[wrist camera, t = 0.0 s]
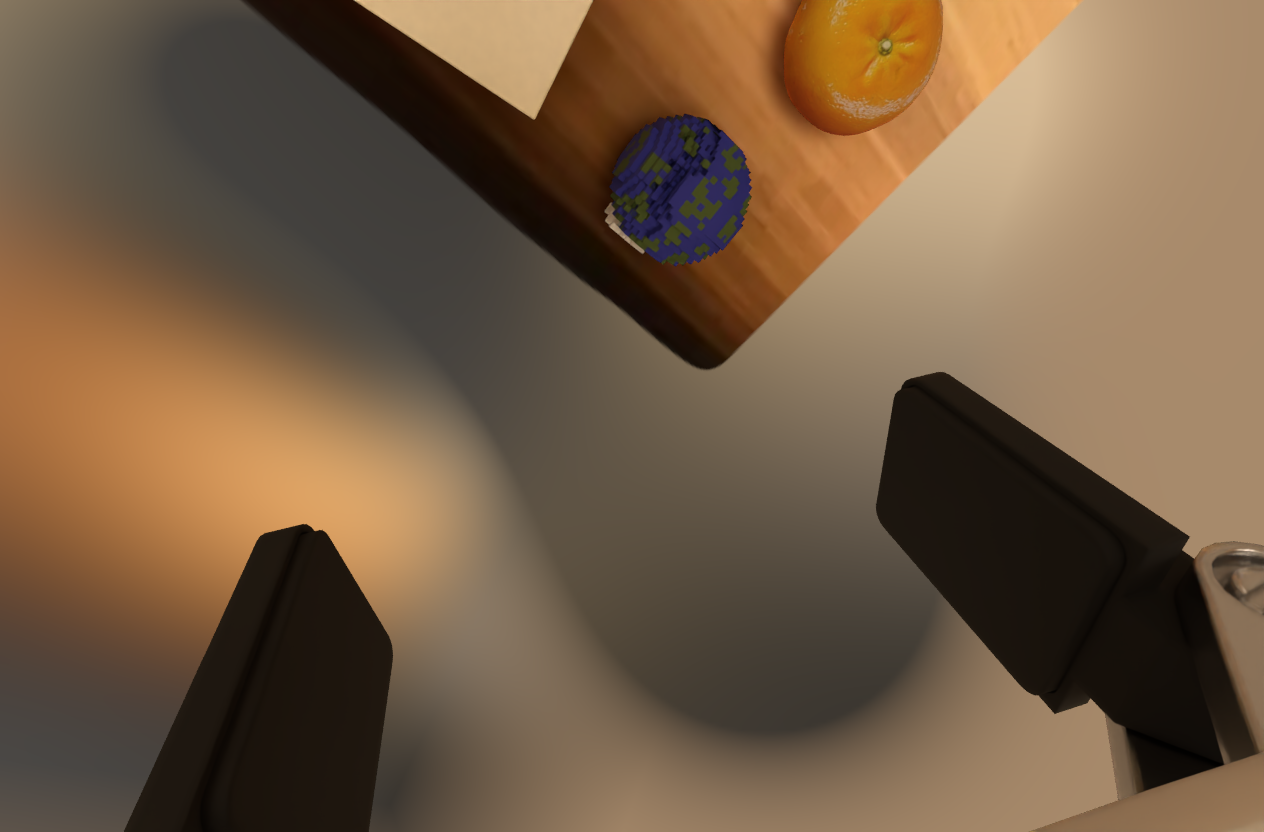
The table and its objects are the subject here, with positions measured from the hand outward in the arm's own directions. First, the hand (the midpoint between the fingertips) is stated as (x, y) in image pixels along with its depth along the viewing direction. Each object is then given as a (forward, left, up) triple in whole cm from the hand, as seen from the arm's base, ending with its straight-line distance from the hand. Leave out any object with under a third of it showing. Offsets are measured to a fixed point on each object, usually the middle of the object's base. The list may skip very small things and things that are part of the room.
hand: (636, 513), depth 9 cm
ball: (-4, +8, -31) cm, 33 cm away
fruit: (-16, +13, -31) cm, 38 cm away
